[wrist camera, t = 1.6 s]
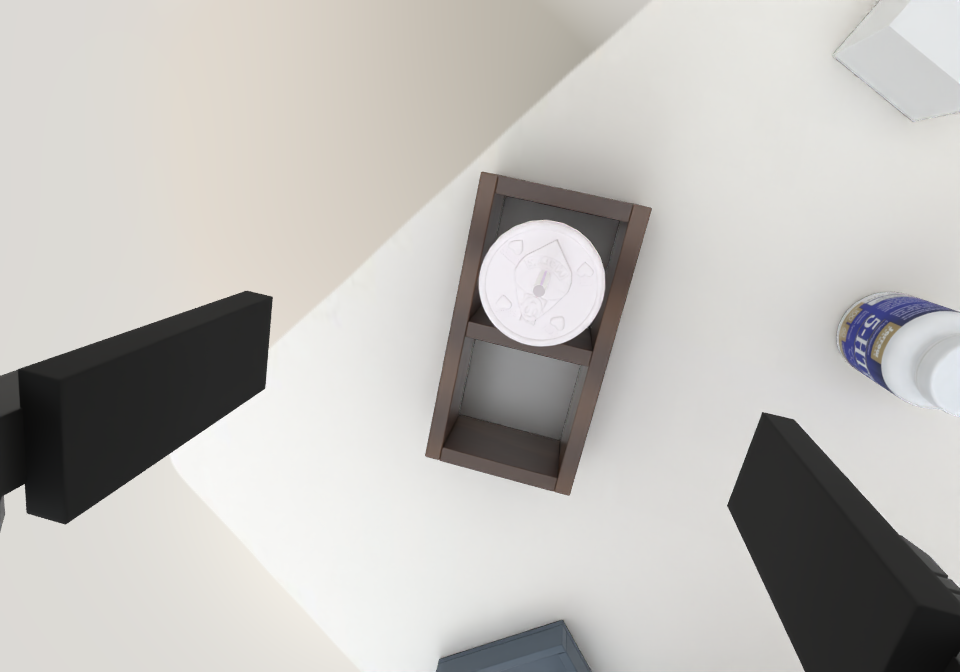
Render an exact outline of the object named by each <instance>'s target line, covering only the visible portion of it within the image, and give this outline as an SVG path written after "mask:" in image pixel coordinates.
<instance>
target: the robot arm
mask: <svg viewBox="0 0 960 672" xmlns="http://www.w3.org/2000/svg"><path fill="white" fill-rule="evenodd" d="M272 299H273V297H271V296H267V295H263V294H258V293H254V292H250V291H244V292H242V293H239V294H236V295H233V296H230V297H227V298H224V299H221V300H218V301H215V302H212V303H209V304H207V305H204V306H201V307H198V308H195V309H192V310H189V311H186V312H183V313H180V314H178V315H175V316H172V317H169V318H166V319H163V320H160V321H157V322H154V323H151V324H149V325H146V326H143V327H140V328H137V329H134V330H131V331H128V332H125V333H122V334H119V335H117V336H114V337H111V338H108V339H105V340H102V341H99V342H96V343H93V344H90V345H88V346H85V347H82V348H79V349H76V350H73V351H70V352H67V353H64V354H61V355H59V356H55V357H53V358H50V359H47V360H44V361H41V362H38V363H35V364H32V365H30V366H26V367H24V368H21V369H18V370H16V371H13V372H10V373H7V374H4V375H2V376H0V530H1V526H2V523H3V520H4V516H5V508H4V495H5V494H7V493H9V492H11V491H13V490H14V489H16V488H18V487H20V486H22V485H23V484H25V493H26V510H27V513H28V514H31V515H35V516H38V517H41V518H45V519H48V520H52V521H55V522H59V523H62V524H67V523H69V522H70V521H72V520H73V519H74V518H76V517H77V516H79V515H80V514H82V513H83V512H85V511H86V510H88V509H89V508H91V507H92V506H93V505H95V504H96V503H98V502H99V501H101V500H102V499H104V498H105V497H107V496H108V495H110V494H111V493H113V492H114V491H116V490H117V489H118V488H120V487H121V486H123V485H124V484H126V483H127V482H129V481H130V480H132V479H133V478H135V477H136V476H138V475H139V474H140V473H142V472H143V471H145V470H146V469H147V468H149V467H151V466H152V465H154V464H155V463H157V462H158V461H160V460H161V459H163V458H164V457H165V456H167V455H168V454H170V453H171V452H173V451H174V450H176V449H177V448H179V447H180V446H182V445H183V444H185V443H186V442H187V441H189V440H190V439H192V438H193V437H195V436H196V435H198V434H199V433H201V432H202V431H204V430H205V429H207V428H208V427H209V426H211V425H212V424H214V423H215V422H217V421H218V420H220V419H221V418H223V417H224V416H226V415H227V414H229V413H230V412H231V411H233V410H234V409H236V408H237V407H239V406H240V405H242V404H243V403H245V402H246V401H248V400H249V399H251V398H252V397H253V396H255V395H256V394H258V393H259V392H261V391H262V390H264V389H265V384H266V372H267V360H268V348H269V335H270V323H271V310H272ZM727 506H728V508H729V510H730V512H731V515H732V517H733V519H734V521H735V523H736V525H737V527H738V530H739V532H740V534H741V536H742V538H743V540H744V542H745V544H746V547H747V549H748V551H749V553H750V555H751V557H752V559H753V562H754V564H755V566H756V568H757V570H758V572H759V574H760V576H761V579H762V581H763V583H764V585H765V587H766V589H767V591H768V594H769V596H770V598H771V600H772V602H773V604H774V606H775V609H776V611H777V613H778V615H779V617H780V619H781V621H782V623H783V626H784V628H785V630H786V632H787V634H788V636H789V638H790V641H791V643H792V645H793V647H794V649H795V651H796V653H797V656H798V658H799V660H800V662H801V664H802V666H803V668H804V670H805V672H960V588H959V587H958V586H957V585H956V584H955V583H954V582H953V581H952V580H950V579H948V575H947V574H946V573H945V572H944V571H943V570H942V569H941V568H940V567H939V566H938V565H937V564H936V563H935V562H934V560H933V559H932V558H931V557H930V556H929V555H927V554H926V553H925V552H923V551H922V550H921V549H919V548H918V547H916V546H915V545H914V544H912V543H911V542H910V541H908V540H907V539H906V538H904V537H903V536H901V535H899V534H898V533H897V532H896V531H895V530H894V529H893V528H892V527H891V525H890V524H889V523H888V522H887V521H886V520H885V519H884V518H883V517H882V516H881V514H880V513H879V512H878V511H877V510H876V509H875V508H874V507H873V506H872V505H871V503H870V502H869V501H868V500H867V499H866V498H865V497H864V496H863V495H862V494H861V492H860V491H859V490H858V489H857V488H856V487H855V486H854V485H853V484H852V483H851V482H850V480H849V479H848V478H847V477H846V476H845V475H844V474H843V473H842V472H841V471H840V469H839V468H838V467H837V466H836V465H835V464H834V463H833V462H832V461H831V460H830V458H829V457H828V456H827V455H826V454H825V453H824V452H823V451H822V450H821V449H820V448H819V446H818V445H817V444H816V443H815V442H814V441H813V440H812V439H811V438H810V437H809V435H808V434H807V433H806V432H805V431H804V430H803V429H802V428H801V427H800V426H799V424H798V423H797V422H796V421H795V420H794V419H790V418H785V417H781V416H777V415H773V414H768V413H764V412H762V415H761V418H760V420H759V423H758V426H757V428H756V431H755V433H754V436H753V439H752V441H751V444H750V447H749V449H748V452H747V455H746V457H745V460H744V463H743V465H742V468H741V471H740V473H739V476H738V478H737V481H736V484H735V486H734V489H733V492H732V494H731V497H730V500H729V502H728V505H727Z"/></svg>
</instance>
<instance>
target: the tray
mask: <svg viewBox="0 0 960 672" xmlns="http://www.w3.org/2000/svg"><path fill="white" fill-rule="evenodd" d="M436 672H591V670H590V668H589V666H588V664H587V663H586V661H585V659H584V657H583V655H582V654H581V652H580V650H579V648H578V647H577V645H576V643H575V641H574V639H573V638H572V636H571V634H570V632H569V630H568V629H567V627H566V625H565V623H564V621H563V620H561V621H558V622H555V623H552V624H548V625H545V626H542V627H539V628H536V629H533V630H530V631H526V632H523V633H520V634H517V635H514V636H511V637H508V638H505V639H501V640H498V641H495V642H492V643H489V644H486V645H483V646H479V647H476V648H473V649H470V650H467V651H464V652H461V653H457V654H454V655H451V656H448V657H445V658H442V659H439V662H438V666H437V670H436Z"/></svg>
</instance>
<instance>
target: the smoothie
mask: <svg viewBox="0 0 960 672" xmlns="http://www.w3.org/2000/svg"><path fill="white" fill-rule="evenodd" d="M604 291H605V271H604V268H603V264H602V261H601V258H600V255H599V254H598V252H597V251H596V249H595V247H594V246H593V244H592V243H591V241H589V240H588V239H587V238H586V237H585V236H584V235H583V234H582V233H581V232H580V231H578V230H576V229H574V228H572V227H570V226H568V225H566V224H564V223H561V222H556V221H551V220H536V221H528V222H525V223H523V224H520V225H517V226H514V227H513V228H511V229H510V230H508V231H507V232H505V233H504V234H502V235H501V236H500V237H499V238H498V239H497V240H496V242H495V243H494V244H493V245H492V246H491V247H490V249H489V251H488V253H487V254H486V256H485V258H484V260H483V263H482V266H481V270H480V275H479V294H480V299H481V302H482V305H483V308H484V310H485V312H486V314H487V316H488V317H489V319H490V320H491V322H492V323H493V324H494V325H495V326H496V327H497V328H498V329H499V330H500V331H501V332H502V333H503V334H505V335H506V336H508V337H509V338H511V339H513V340H515V341H517V342H520V343H523V344H527V345H531V346H552V345H557V344H561V343H564V342H566V341H568V340H571V339H573V338H574V337H576V336H577V335H579V334H580V333H581V332H583V331H584V330H585V329H586V328H587V327H588V326H589V325H590V324H591V322H592V321H593V320H594V318H595V317H596V315H597V313H598V311H599V309H600V307H601V304H602V301H603V297H604Z"/></svg>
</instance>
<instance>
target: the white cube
mask: <svg viewBox="0 0 960 672" xmlns="http://www.w3.org/2000/svg"><path fill="white" fill-rule="evenodd" d="M832 56H833V57H835V58H836V59H837V60H838V61H840V62H841V63H842V64H843V65H844V66H846V67H847V68H848V69H849V70H851V71H852V72H853V73H854V74H855V75H857V76H858V77H859V78H860V79H862V80H863V81H864V82H865V83H866V84H868V85H869V86H870V87H871V88H873V89H874V90H875V91H876V92H877V93H879V94H880V95H881V96H882V97H884V98H885V99H886V100H887V101H888V102H890V103H891V104H892V105H893V106H895V107H896V108H897V109H898V110H900V111H901V112H902V113H903V114H904V115H906V116H907V117H908V118H909V119H911V120H912V121H913V122H914V121H919V120H924V119H929V118H934V117H939V116H944V115H949V114H954V113H959V112H960V0H880V1H879V2H878V3H877V5H876V6H875V7H874V8H873V9H872V10H871V11H870V13H869V14H868V15H867V16H866V17H865V18H864V19H863V21H862V22H861V23H860V24H859V25H858V26H857V27H856V29H855V30H854V31H853V32H852V33H851V34H850V35H849V37H848V38H847V39H846V40H845V41H844V42H843V43H842V45H841V46H840V47H839V48H838V49H837V50H836V52H835V53H834V54H833V55H832Z"/></svg>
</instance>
